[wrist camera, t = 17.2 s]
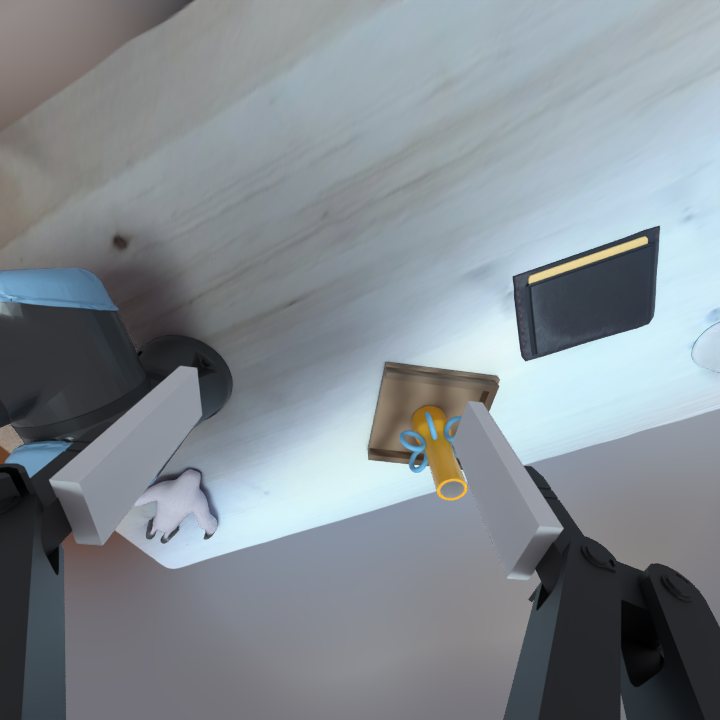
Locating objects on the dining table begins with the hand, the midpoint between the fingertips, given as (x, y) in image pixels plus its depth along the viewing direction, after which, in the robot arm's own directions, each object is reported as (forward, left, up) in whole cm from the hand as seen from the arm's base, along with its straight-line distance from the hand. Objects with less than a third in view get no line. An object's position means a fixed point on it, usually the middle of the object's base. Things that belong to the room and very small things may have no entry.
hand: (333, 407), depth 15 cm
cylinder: (+17, -22, -31) cm, 41 cm away
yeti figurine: (-29, -50, -32) cm, 67 cm away
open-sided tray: (+17, -22, -32) cm, 42 cm away
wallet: (+35, +2, -33) cm, 48 cm away
